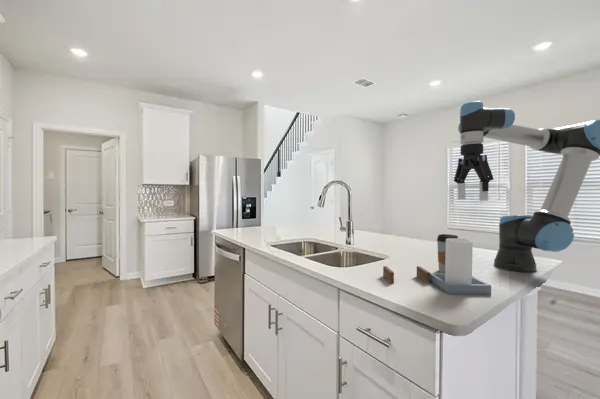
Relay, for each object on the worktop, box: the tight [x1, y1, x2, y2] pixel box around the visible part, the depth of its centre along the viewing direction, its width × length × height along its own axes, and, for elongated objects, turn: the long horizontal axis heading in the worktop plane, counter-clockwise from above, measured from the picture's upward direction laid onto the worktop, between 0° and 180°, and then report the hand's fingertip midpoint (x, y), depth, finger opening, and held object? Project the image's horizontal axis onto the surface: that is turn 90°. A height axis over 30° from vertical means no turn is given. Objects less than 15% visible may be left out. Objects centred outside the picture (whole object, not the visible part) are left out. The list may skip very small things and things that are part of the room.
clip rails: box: [382, 265, 431, 284], centre depth 112 cm, size 14×9×4 cm, turn 91°
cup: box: [444, 237, 474, 284], centre depth 103 cm, size 8×8×16 cm
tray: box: [430, 272, 492, 296], centre depth 104 cm, size 14×14×3 cm
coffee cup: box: [436, 233, 459, 273], centre depth 124 cm, size 8×8×15 cm
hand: (472, 200), depth 114 cm, fingers open, 13 cm apart
